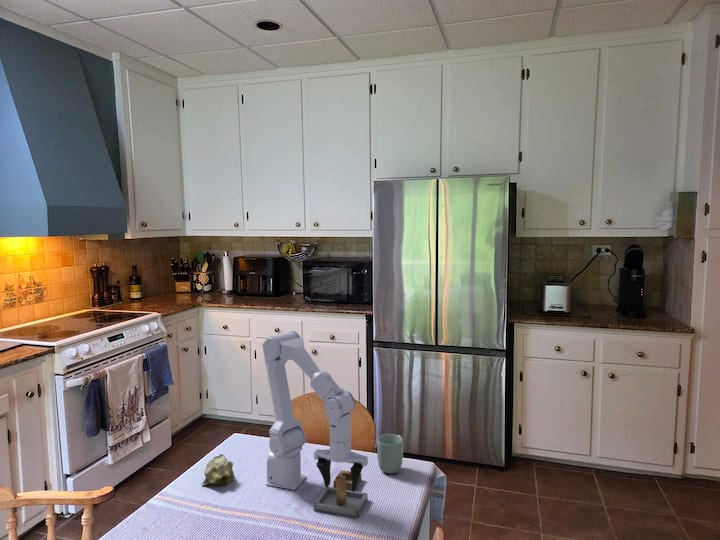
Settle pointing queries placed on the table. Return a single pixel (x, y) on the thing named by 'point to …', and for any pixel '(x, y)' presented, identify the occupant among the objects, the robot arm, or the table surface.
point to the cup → (390, 453)
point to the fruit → (219, 471)
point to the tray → (350, 509)
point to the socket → (348, 477)
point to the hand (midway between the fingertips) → (341, 487)
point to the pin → (341, 490)
